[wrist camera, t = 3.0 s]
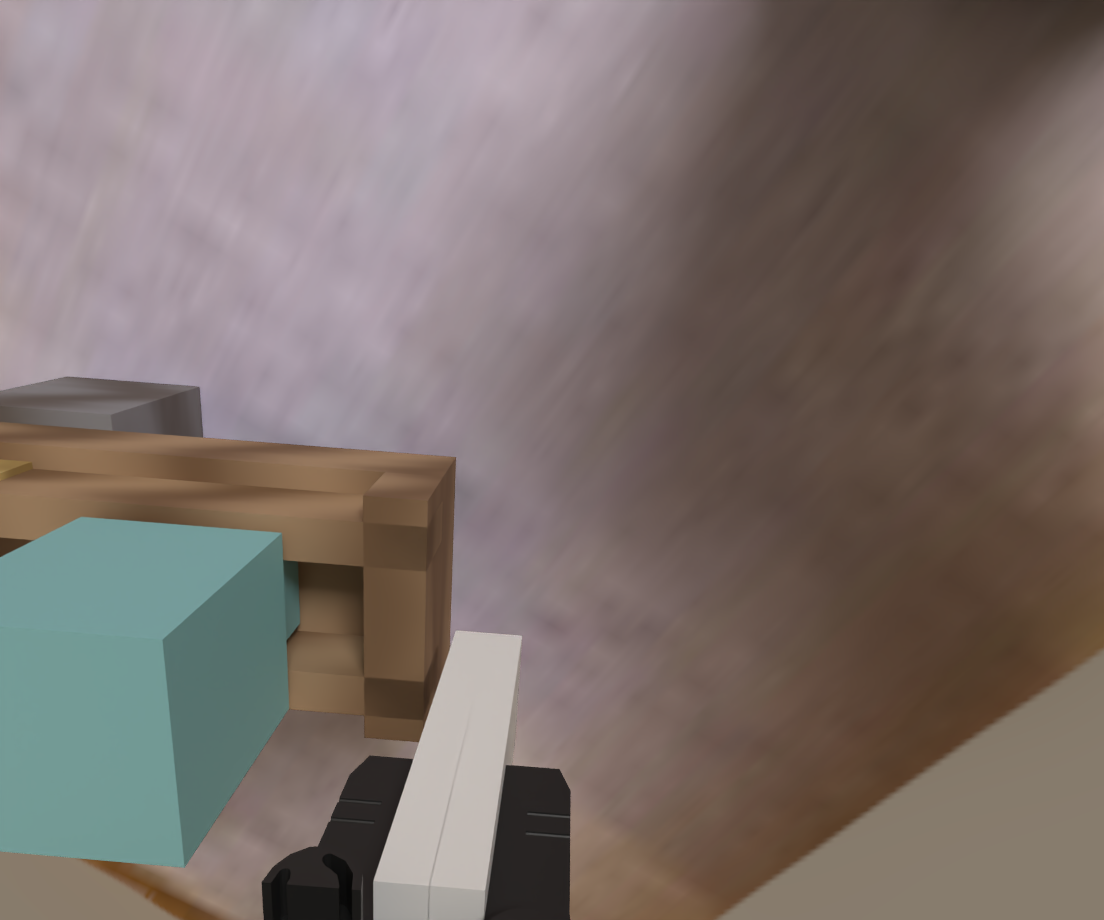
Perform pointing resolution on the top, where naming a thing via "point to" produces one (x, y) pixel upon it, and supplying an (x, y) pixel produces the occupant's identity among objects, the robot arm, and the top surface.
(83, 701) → the block
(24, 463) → the beam
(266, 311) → the top surface
